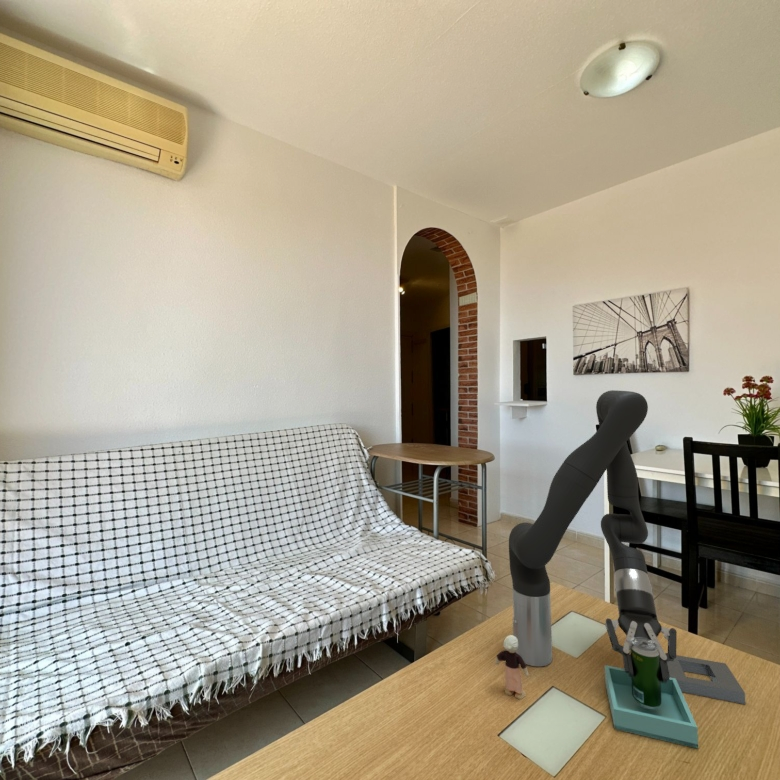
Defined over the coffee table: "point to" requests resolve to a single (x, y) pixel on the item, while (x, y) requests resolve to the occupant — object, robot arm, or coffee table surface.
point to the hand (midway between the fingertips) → (647, 678)
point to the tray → (650, 711)
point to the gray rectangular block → (718, 688)
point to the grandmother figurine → (512, 667)
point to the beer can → (646, 672)
